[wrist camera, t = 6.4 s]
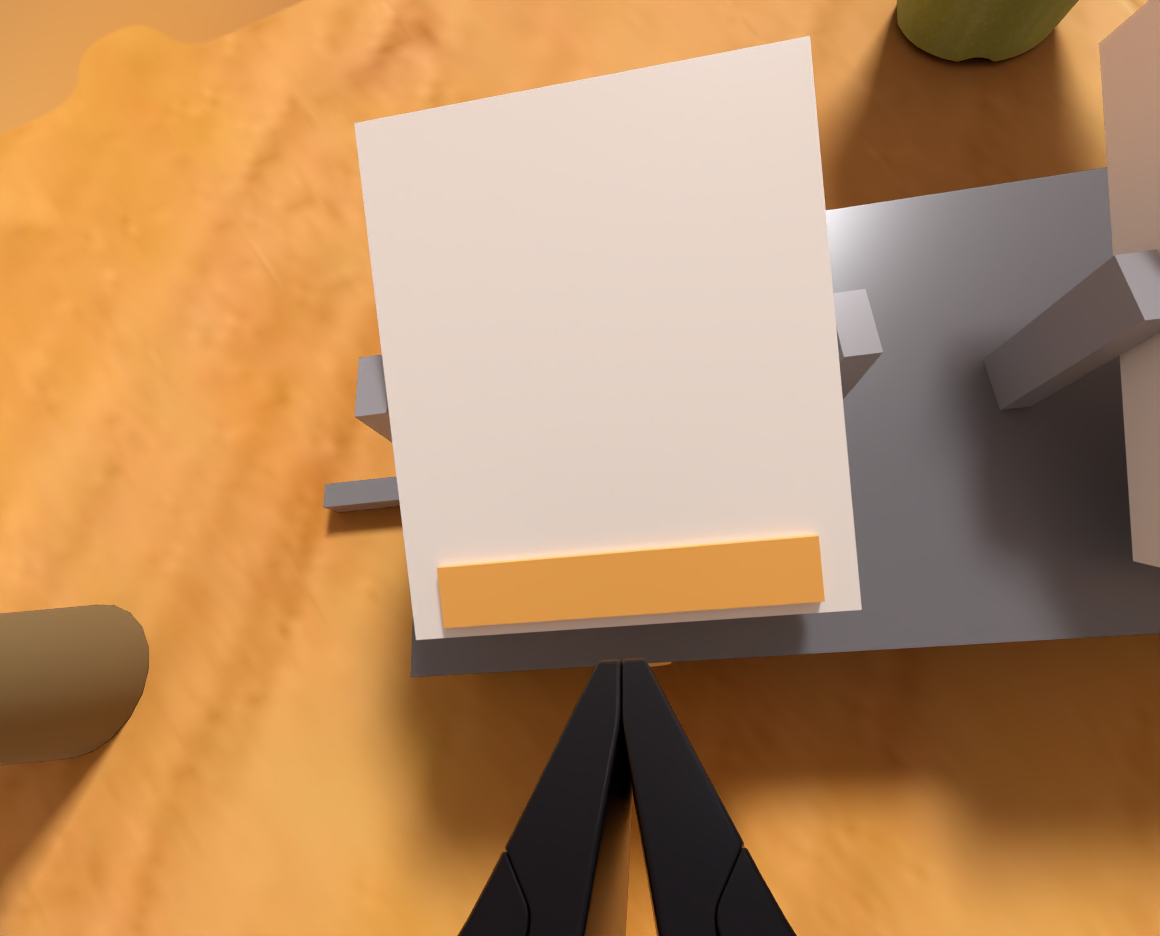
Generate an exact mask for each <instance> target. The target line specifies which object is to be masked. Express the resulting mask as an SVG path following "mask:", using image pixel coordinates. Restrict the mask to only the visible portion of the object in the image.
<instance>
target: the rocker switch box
mask: <svg viewBox="0 0 1160 936" xmlns="http://www.w3.org/2000/svg"><path fill="white" fill-rule="evenodd" d="M826 220H827V231H828V242H829V253H830V264H831V275H832V286H833V297H834V308H835V319H836V330H837V341H838V352H839V363H840V374H841V385H842V396H843V407H844V419H845V430H846V441H847V452H848V463H849V474H850V485H851V496H852V507H853V518H854V529H855V540H856V551H857V562H858V573H859V584H860V595H861V606H862V610H853V611H838V612H823V613H808V614H794V615H779V616H764V617H749V618H734V619H720V620H705V621H690V622H675V623H660V624H646V625H631V626H616V627H601V628H586V629H571V630H557V631H542V632H527V633H512V634H497V635H483V636H468V637H453V638H438V639H423V640H416V636H415V627H414V619H413V628H412V657H411V677H424V676H441V675H458V674H475V673H492V672H509V671H526V670H543V669H560V668H577V667H594V666H596V664H597V663H598V662H599V661H602V660H616V659H617V660H620V661H621V662H623V660H624V659H633V658H644V659H645V660H646V661H647V663H648V664H649V666H650V667H653V666H662V665H668V664H671V662H679V661H696V660H713V659H730V658H747V657H764V656H781V655H798V654H815V653H832V652H849V651H866V650H883V649H900V648H917V647H934V646H951V645H968V644H985V643H1002V642H1019V641H1036V640H1053V639H1070V638H1087V637H1104V636H1121V635H1138V634H1155V633H1160V567H1156V566H1152V565H1147V564H1143V563H1139V562H1135V561H1133V552H1132V537H1131V522H1130V506H1129V491H1128V476H1127V461H1126V445H1125V430H1124V415H1123V400H1122V384H1121V369H1120V355H1121V354H1123V353H1124V352H1126V351H1128V350H1130V349H1131V348H1133V347H1135V346H1137V345H1138V344H1140V343H1142V342H1144V341H1145V340H1147V339H1149V338H1151V337H1152V336H1154V335H1156V334H1157V333H1159V332H1160V255H1159V253H1158V251H1157V249H1155V250H1148V251H1141V252H1133V253H1126V254H1119V255H1114V256H1113V247H1112V232H1111V216H1110V201H1109V186H1108V171H1107V167H1106V168H1099V169H1093V170H1086V171H1080V172H1073V173H1067V174H1060V175H1054V176H1047V177H1041V178H1034V179H1028V180H1021V181H1015V182H1008V183H1002V184H995V185H989V186H982V187H976V188H969V189H963V190H956V191H950V192H943V193H937V194H930V195H924V196H917V197H911V198H904V199H898V200H891V201H885V202H878V203H872V204H865V205H859V206H852V207H846V208H839V209H833V210H826ZM355 417H356V418H357V419H359V420H360V421H362V422H363V423H365V424H366V425H367V426H369V427H370V428H372V429H373V430H375V431H376V432H378V433H379V434H380V435H382V436H383V437H385V438H386V439H388V440H389V441H391V442H392V435H391V426H390V418H389V409H388V401H387V393H386V384H385V376H384V368H383V359H382V355H375V356H367V357H360V358H359V367H358V380H357V393H356V406H355ZM396 506H400V502H399V493H398V485H397V477H388V478H378V479H369V480H360V481H350V482H341V483H332V484H325V494H324V505H323V507H324V508H327V509H330V510H332V511H335V512H345V511H356V510H366V509H376V508H386V507H396Z"/></svg>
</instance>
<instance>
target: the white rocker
mask: <svg viewBox="0 0 1160 936" xmlns="http://www.w3.org/2000/svg"><path fill="white" fill-rule="evenodd" d="M1099 49H1100V64H1101V79H1102V94H1103V110H1104V125H1105V140H1106V155H1107V171H1108V186H1109V201H1110V216H1111V232H1112V247H1113V256H1114V255H1119V254H1126V253H1133V252H1141V251H1148V250H1155V249H1157V251H1158V253H1159V255H1160V0H1149V1H1148V2H1147V3H1146V4H1145V5H1143V6H1142V7H1141V8H1140V9H1139V10H1138V11H1136V12H1135V13H1134V14H1133V15H1132V16H1131V17H1129V18H1128V19H1127V20H1126V21H1125V22H1124V23H1122V24H1121V25H1120V26H1119V27H1118V28H1117V29H1115V30H1114V31H1113V32H1112V33H1111V34H1110V35H1108V36H1107V37H1106V38H1105V39H1104V40H1103V41H1101V42H1100V43H1099ZM1120 369H1121V384H1122V400H1123V415H1124V430H1125V445H1126V461H1127V476H1128V491H1129V506H1130V522H1131V537H1132V552H1133V561H1135V562H1139V563H1143V564H1147V565H1152V566H1156V567H1160V332H1159V333H1157V334H1156V335H1154V336H1152V337H1151V338H1149V339H1147V340H1145V341H1144V342H1142V343H1140V344H1138V345H1137V346H1135V347H1133V348H1131V349H1130V350H1128V351H1126V352H1124V353H1123V354H1121V355H1120Z"/></svg>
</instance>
